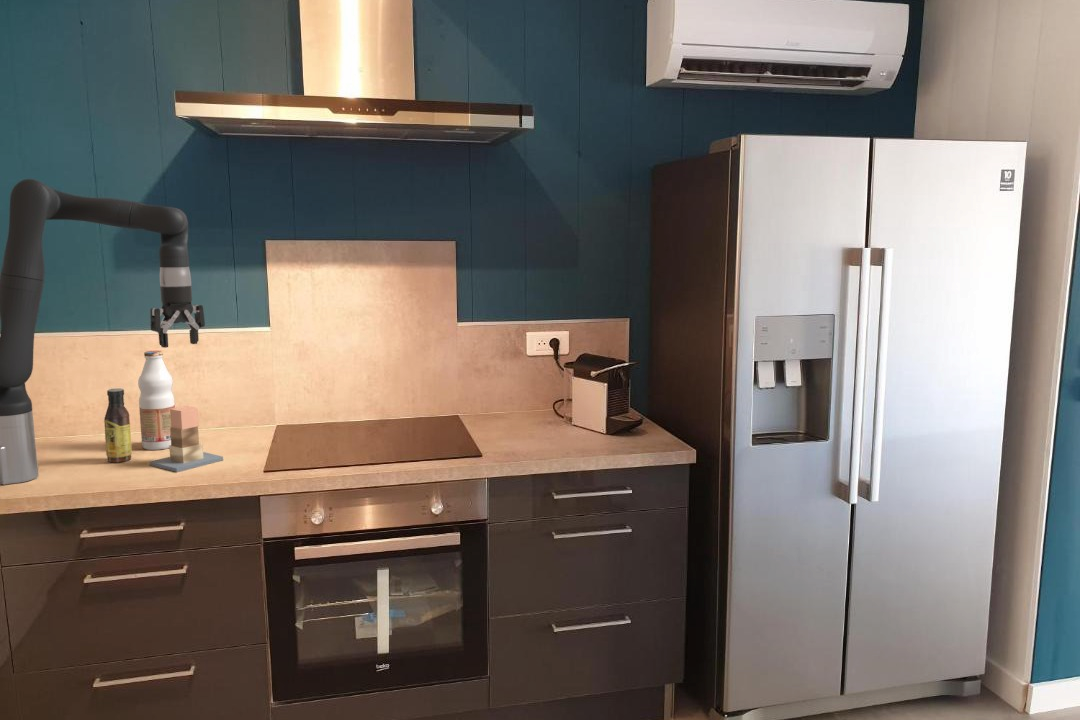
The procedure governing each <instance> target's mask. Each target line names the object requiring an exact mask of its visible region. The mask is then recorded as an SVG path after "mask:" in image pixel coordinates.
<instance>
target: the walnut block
mask: <svg viewBox="0 0 1080 720" xmlns="http://www.w3.org/2000/svg"><path fill="white" fill-rule="evenodd" d="M170 434H171V446H175V447H179V448H185V447H190V446H194V445H198V444H199V443H200V437H199V426H197V427H192V428H188V429H183V430H181V429H177V428H172V427H170Z"/></svg>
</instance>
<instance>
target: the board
mask: <svg viewBox="0 0 1080 720" xmlns="http://www.w3.org/2000/svg"><path fill="white" fill-rule="evenodd" d="M221 461H224V456H222V455H218V454H213V453H209V452H205V451H203V458H202V459H198V460H194V461H190V462H187V463H181V462H177V461H173V460H170V456H167V457H163V458H159V459H155V460H151V461H149V465H150V466H152V467H155V468H159V469H163V470H168V471H170V472H171V471H172V472H173V473H174V472H175V473H179V472H183V471H187V470H191V469H195V468H198V467H202V466H206V465H210V464H214V463H217V462H221Z"/></svg>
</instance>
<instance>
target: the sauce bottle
mask: <svg viewBox="0 0 1080 720" xmlns="http://www.w3.org/2000/svg"><path fill="white" fill-rule="evenodd" d="M106 392H107V393H106V396H107V399H108V400H107V401H108V404H107V405H108V406H107V409H106V412H105V415H104V439H105V451H106V453H105V454H106V457H107V460H106V461H108V462H109V463H113V464H115V463H124V462H128V461H131V460H132V452H133V451H132V434H131V433H132V431H131V430H132V429H131V422H130V421H131V420H130V412H129V410H128V409H127V407H125V402H124V401H125V399H124V397H125V390H124V389H123V388H116V387H115V388H109V389H108V390H107V391H106Z"/></svg>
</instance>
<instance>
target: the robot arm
mask: <svg viewBox="0 0 1080 720" xmlns="http://www.w3.org/2000/svg"><path fill="white" fill-rule="evenodd" d="M9 196H10V197H9V222H8V223H9V225H8V232H7V239H6V243H5V249H4V253H3V260H2V267H1V268H0V269H1V270H0V484H1V485H3V486H4V485H9V484H11V485H12V484H19V483H24V482H28V481H32V480H35V479H37V478H38V477H39V466H38V465H39V464H38V456H37V445H36V436H35V425H34V424H35V423H34V413H33V403H32V399H31V398H30V395H29V394H28V390H27V388H26V383H27V381H29V379H30V377H32V374H33V370H34V346H35V344H34V343H35V333H36V332H35V331H36V326H37V322H38V317H39V311H40V310H39V309H40V304H41V300H42V294H43V291H44V290H43V288H44V281H45V261H44V260H45V259H44V250H43V234H44V230H45V225H46V221H49V220H51V221H53V220H55V221H56V220H59V221H61V220H62V221H63V220H64V221H65V220H66V221H78V222H88V223H89V222H90V223H94V224H100V225H105V226H110V227H117V228H122V229H123V228H124V229H132V230H142V231H143V230H145V231H147V232H152V233H156V234H157V233H159V234H160V247H159V251H158V253H159V285H160V287H159V288H160V302H161V305H162V306H161V308H156V307H151V308H150V314H149V315H150V331H152V332H156V333H157V334H158V343H159V345H160V346H161V348H164V349H165V348H169V337H168V336H169V335H168V333H167V332H168V330H169V329H170V327H172V326H173V325H174V324H179V323H182V324H183V323H184V324H186V325H187V326H188V328H189V329H190V330H189V343H190V344H191V345H198V342H199V329H201V328H204V327H205V326H206V321H205V314H204V313H205V312H204V306H203V305H202V304H194V305H192V301H193V292H192V291H193V290H192V276H191V275H192V274H191V271H190V261H189V249H188V242H189V221H188V217H187V215H186V213H185V212H184V211H183V210H181V209H180V208H177V207H172V206H164V205H163V206H162V205H154V204H145V203H142V202H138V201H133V200H128V199H127V200H126V199H120V198H110V197H90V196H89V197H88V196H82V195H81V196H80V195H74V194H71V193H70V194H69V193H66V192H64V191H60V190H57V189H53V188H51V187H50V186H48V185H47V184H45V183H43V182H42V181H39V180H36V179H32V178H27V179H22V180H20V181H18V182H17V183H16V184H15V185H14V186H13V188H12V190H11V192H10V195H9ZM192 313H194V317H193V316H192V315H191V314H192ZM161 316H163V318H162V319H161Z"/></svg>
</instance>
